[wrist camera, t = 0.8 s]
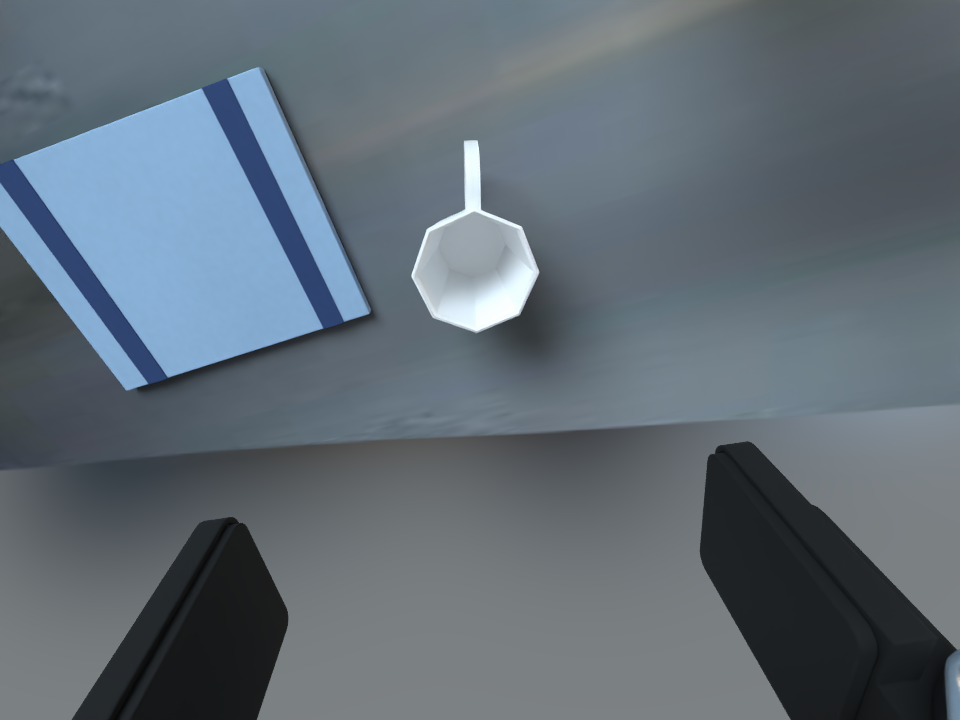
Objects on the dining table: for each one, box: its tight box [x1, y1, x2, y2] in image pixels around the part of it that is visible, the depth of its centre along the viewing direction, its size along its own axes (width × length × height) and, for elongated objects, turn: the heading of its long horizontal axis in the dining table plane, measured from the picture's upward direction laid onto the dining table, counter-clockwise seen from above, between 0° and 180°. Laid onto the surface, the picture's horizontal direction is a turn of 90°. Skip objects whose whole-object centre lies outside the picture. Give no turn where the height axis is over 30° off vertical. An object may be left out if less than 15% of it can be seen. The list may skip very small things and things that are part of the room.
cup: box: [411, 140, 539, 333], centre depth 29 cm, size 7×10×8 cm
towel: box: [0, 67, 371, 391], centre depth 32 cm, size 16×20×1 cm
